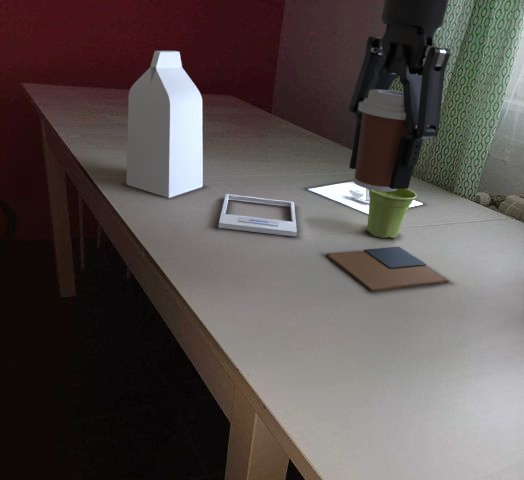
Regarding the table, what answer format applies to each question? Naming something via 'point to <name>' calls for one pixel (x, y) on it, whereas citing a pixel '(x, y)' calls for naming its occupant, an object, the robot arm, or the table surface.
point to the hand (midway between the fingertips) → (377, 177)
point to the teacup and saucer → (349, 195)
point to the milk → (165, 129)
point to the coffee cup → (379, 138)
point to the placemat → (386, 268)
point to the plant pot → (388, 211)
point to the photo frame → (258, 223)
